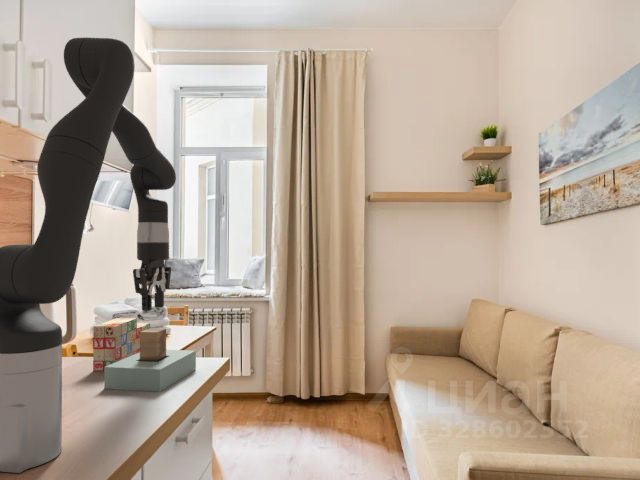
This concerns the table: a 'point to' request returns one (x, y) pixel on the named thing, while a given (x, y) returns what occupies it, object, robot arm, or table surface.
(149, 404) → the table surface
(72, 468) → the table surface
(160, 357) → the walnut peg
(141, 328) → the stack of blocks
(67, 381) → the table surface
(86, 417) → the table surface
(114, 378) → the socket board
